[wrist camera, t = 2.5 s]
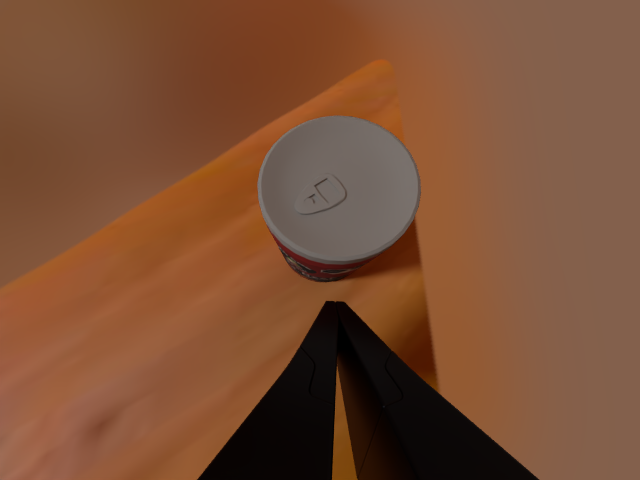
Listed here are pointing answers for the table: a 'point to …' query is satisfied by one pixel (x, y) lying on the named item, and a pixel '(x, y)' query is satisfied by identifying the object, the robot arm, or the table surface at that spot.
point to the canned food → (337, 195)
